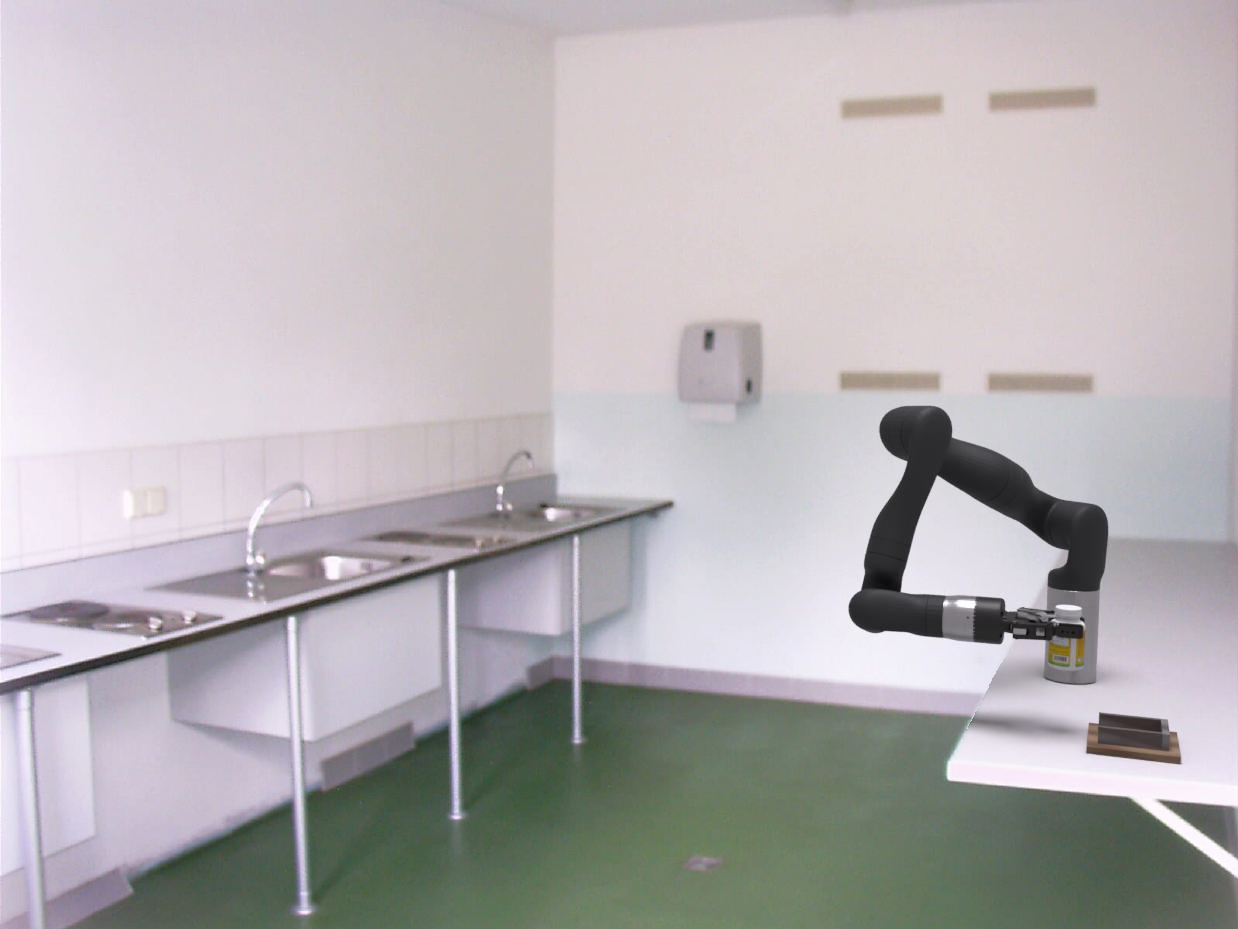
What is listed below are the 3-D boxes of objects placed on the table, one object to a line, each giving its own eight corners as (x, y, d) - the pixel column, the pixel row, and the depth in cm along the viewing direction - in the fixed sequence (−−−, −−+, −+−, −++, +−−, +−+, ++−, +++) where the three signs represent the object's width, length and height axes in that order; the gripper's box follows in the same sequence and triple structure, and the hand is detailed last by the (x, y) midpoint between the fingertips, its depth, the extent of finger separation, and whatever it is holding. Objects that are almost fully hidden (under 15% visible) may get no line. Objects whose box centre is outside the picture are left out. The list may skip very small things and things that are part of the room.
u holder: (1088, 728, 203) (1089, 707, 203) (1176, 738, 198) (1177, 716, 198) (1086, 753, 190) (1087, 730, 190) (1180, 764, 186) (1181, 740, 185)
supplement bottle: (1075, 662, 204) (1078, 603, 203) (1089, 671, 199) (1092, 611, 198) (1042, 662, 204) (1045, 603, 203) (1055, 671, 199) (1058, 610, 198)
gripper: (969, 604, 199) (1083, 613, 193) (978, 588, 212) (1086, 596, 206) (968, 651, 200) (1081, 661, 193) (977, 632, 213) (1084, 641, 207)
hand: (1083, 627), depth 200 cm, fingers closed on supplement bottle, 5 cm apart
